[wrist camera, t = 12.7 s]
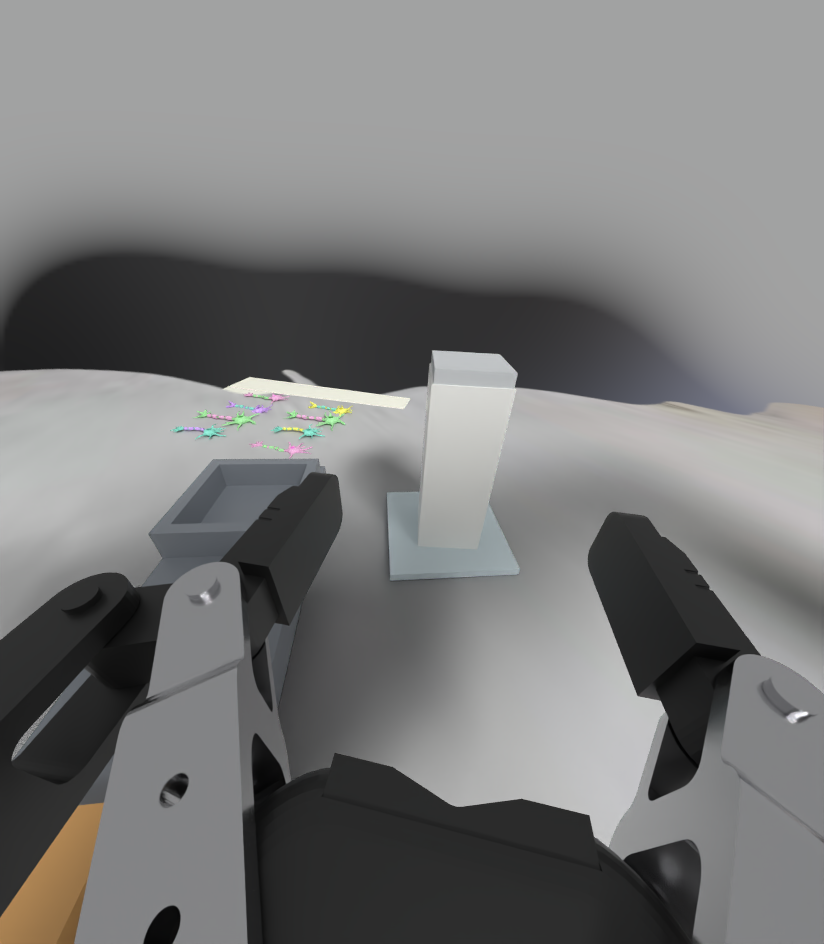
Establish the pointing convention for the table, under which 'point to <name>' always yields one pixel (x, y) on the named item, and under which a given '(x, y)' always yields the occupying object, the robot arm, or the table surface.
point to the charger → (462, 445)
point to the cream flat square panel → (270, 386)
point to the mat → (438, 561)
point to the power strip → (183, 548)
